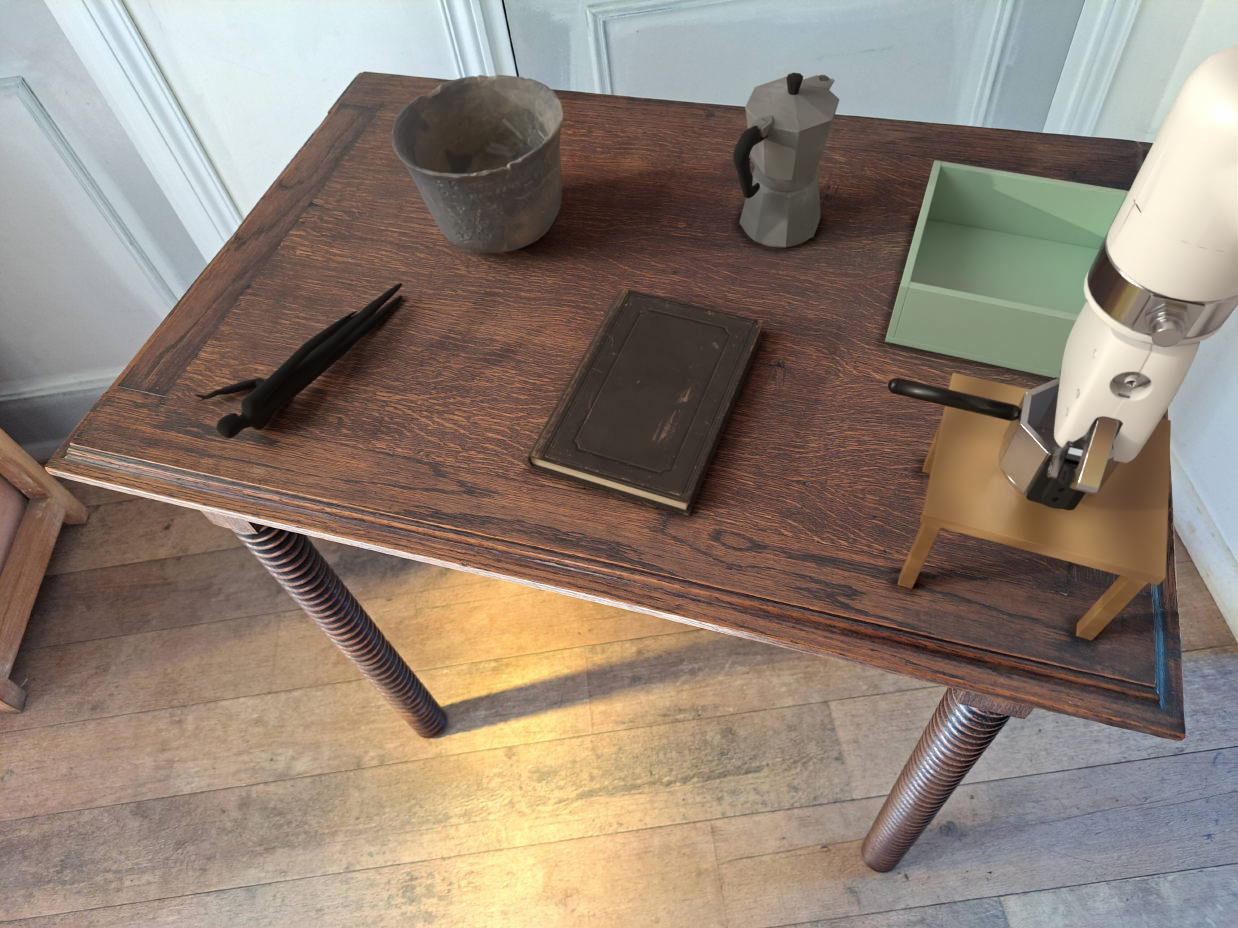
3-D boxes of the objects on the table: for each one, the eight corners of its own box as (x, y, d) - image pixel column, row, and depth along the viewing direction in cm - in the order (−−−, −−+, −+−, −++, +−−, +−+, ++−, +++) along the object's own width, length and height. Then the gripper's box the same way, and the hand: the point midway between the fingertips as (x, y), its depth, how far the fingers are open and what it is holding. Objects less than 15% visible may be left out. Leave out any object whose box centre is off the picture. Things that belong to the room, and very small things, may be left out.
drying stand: (1107, 503, 75) (1171, 420, 65) (1096, 646, 67) (1166, 577, 58) (920, 457, 79) (953, 372, 69) (891, 587, 72) (923, 513, 62)
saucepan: (1102, 441, 64) (1134, 394, 59) (1095, 517, 60) (1128, 473, 56) (885, 390, 68) (899, 342, 64) (867, 458, 65) (880, 413, 60)
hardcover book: (762, 336, 88) (764, 320, 87) (688, 516, 77) (688, 502, 75) (619, 302, 93) (618, 286, 91) (529, 467, 81) (525, 453, 79)
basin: (1104, 251, 92) (1135, 191, 85) (1091, 386, 82) (1125, 329, 75) (918, 218, 97) (934, 160, 90) (884, 341, 87) (900, 285, 80)
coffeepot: (781, 177, 103) (796, 30, 88) (847, 209, 99) (875, 60, 84) (698, 245, 97) (699, 100, 82) (764, 282, 93) (778, 137, 78)
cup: (537, 303, 94) (513, 190, 81) (399, 269, 98) (357, 158, 86) (599, 201, 102) (586, 85, 90) (470, 175, 107) (441, 61, 95)
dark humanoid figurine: (348, 229, 92) (155, 370, 80) (410, 275, 91) (224, 426, 79) (353, 277, 99) (175, 414, 87) (410, 321, 98) (239, 465, 86)
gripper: (1242, 411, 42) (1101, 575, 57) (1237, 193, 51) (1116, 383, 66) (1080, 377, 44) (984, 543, 59) (1102, 173, 53) (1014, 361, 68)
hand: (1054, 458), depth 62 cm, fingers closed on saucepan, 7 cm apart
